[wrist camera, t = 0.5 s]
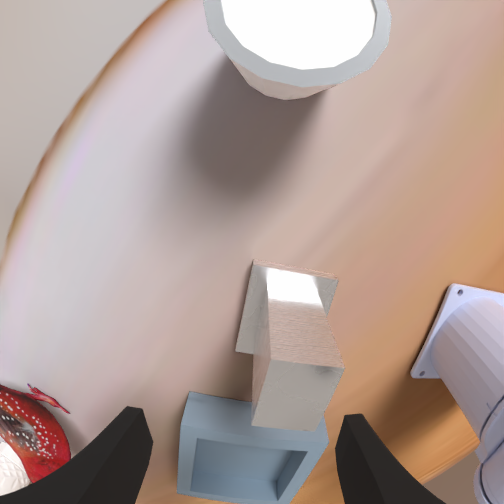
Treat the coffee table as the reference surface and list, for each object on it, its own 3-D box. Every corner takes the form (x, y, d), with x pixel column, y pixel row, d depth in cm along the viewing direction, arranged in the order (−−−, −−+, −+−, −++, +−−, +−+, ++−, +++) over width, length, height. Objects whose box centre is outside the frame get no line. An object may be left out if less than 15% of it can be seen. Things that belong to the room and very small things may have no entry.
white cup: (-5, 430, 28) (-36, 474, 18) (38, 461, 29) (12, 510, 19) (-1, 451, 30) (-26, 490, 21) (38, 478, 31) (17, 521, 22)
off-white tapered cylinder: (285, 136, 17) (302, 127, 10) (198, 54, 15) (163, 5, 8) (370, 63, 15) (425, 24, 8) (285, -15, 13) (296, -83, 7)
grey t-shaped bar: (334, 273, 19) (376, 350, 11) (309, 353, 21) (327, 444, 13) (253, 258, 19) (249, 333, 11) (236, 342, 21) (225, 434, 13)
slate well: (322, 409, 23) (329, 442, 19) (285, 479, 26) (286, 506, 23) (189, 391, 22) (180, 424, 19) (182, 465, 26) (176, 493, 22)
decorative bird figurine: (105, 438, 25) (72, 515, 15) (-28, 343, 22) (-81, 394, 13) (111, 425, 24) (75, 508, 15) (-29, 324, 22) (-88, 376, 12)
